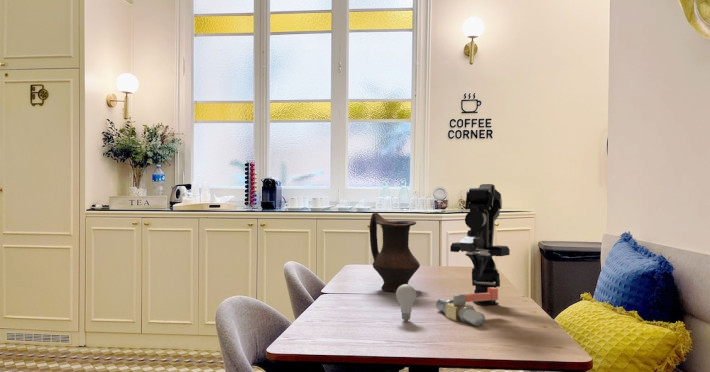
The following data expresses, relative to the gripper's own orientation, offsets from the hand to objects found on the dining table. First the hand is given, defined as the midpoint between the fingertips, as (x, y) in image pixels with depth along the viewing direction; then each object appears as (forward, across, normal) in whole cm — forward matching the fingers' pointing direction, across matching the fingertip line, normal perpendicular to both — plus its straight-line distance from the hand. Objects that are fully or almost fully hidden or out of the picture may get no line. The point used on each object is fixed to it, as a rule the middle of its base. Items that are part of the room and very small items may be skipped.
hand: (479, 276), depth 178 cm
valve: (+12, 0, -11) cm, 16 cm away
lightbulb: (+12, -9, -26) cm, 30 cm away
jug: (+12, -46, +11) cm, 49 cm away
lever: (+7, +2, -6) cm, 10 cm away
